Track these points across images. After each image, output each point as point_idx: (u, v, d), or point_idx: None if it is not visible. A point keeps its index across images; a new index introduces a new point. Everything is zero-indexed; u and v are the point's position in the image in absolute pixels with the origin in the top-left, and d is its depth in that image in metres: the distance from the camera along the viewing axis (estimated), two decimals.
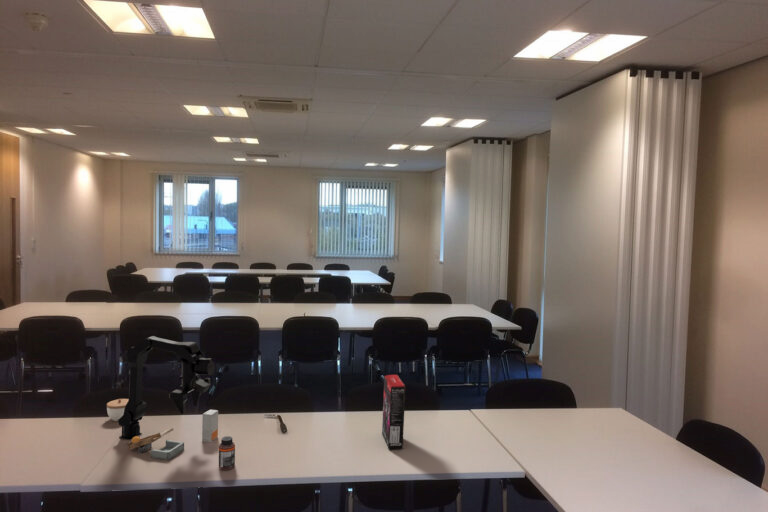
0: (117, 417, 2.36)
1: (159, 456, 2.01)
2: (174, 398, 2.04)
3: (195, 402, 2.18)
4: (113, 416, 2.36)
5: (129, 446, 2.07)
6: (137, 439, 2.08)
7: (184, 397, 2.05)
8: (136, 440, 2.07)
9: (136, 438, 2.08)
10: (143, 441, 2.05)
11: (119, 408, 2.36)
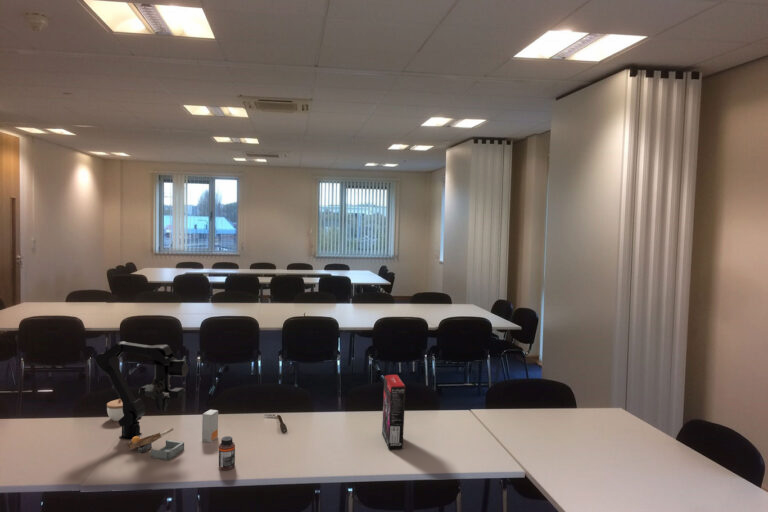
0: (117, 417, 2.36)
1: (159, 456, 2.01)
2: None
3: None
4: (113, 416, 2.36)
5: (129, 446, 2.07)
6: (137, 439, 2.08)
7: (141, 392, 2.17)
8: (136, 440, 2.07)
9: (136, 438, 2.08)
10: (143, 441, 2.05)
11: (119, 408, 2.36)
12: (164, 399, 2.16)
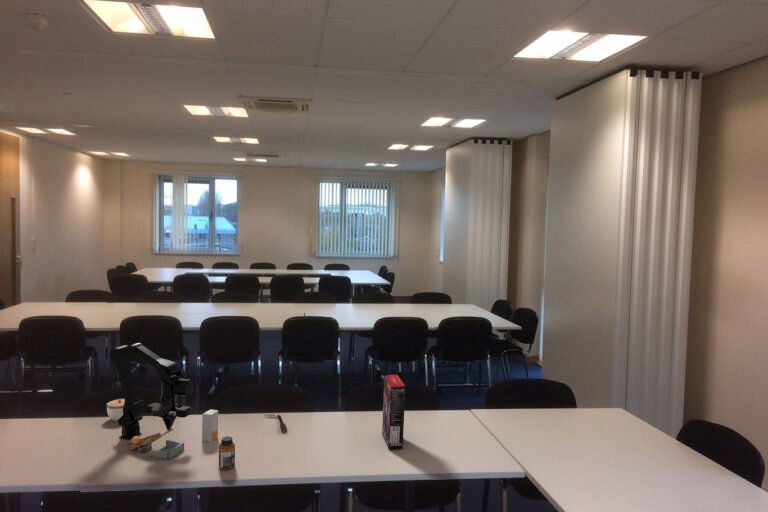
0: (117, 417, 2.36)
1: (159, 456, 2.01)
2: None
3: None
4: (113, 416, 2.36)
5: (129, 446, 2.07)
6: (137, 439, 2.08)
7: (148, 411, 2.14)
8: (136, 440, 2.07)
9: (136, 438, 2.08)
10: (143, 441, 2.05)
11: (119, 408, 2.36)
12: (169, 418, 2.12)
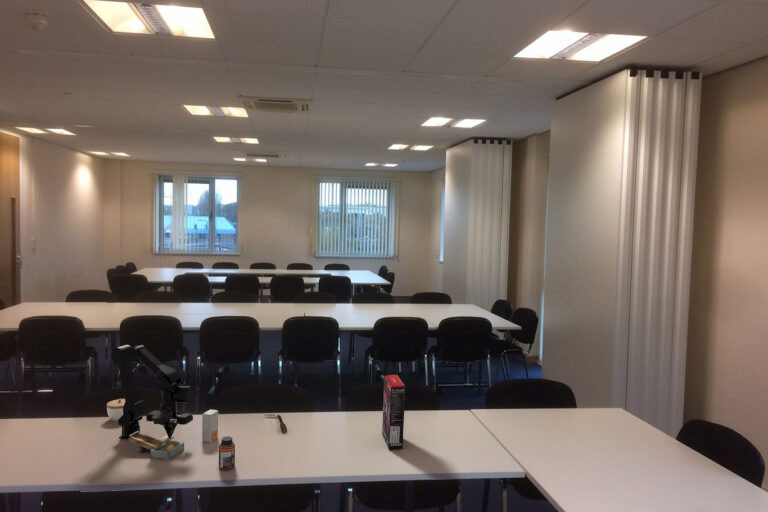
0: (117, 417, 2.36)
1: (159, 456, 2.01)
2: None
3: None
4: (113, 416, 2.36)
5: (130, 438, 2.06)
6: None
7: (148, 419, 2.14)
8: (167, 447, 2.04)
9: (167, 448, 2.05)
10: (145, 444, 2.05)
11: (119, 408, 2.36)
12: (170, 425, 2.13)
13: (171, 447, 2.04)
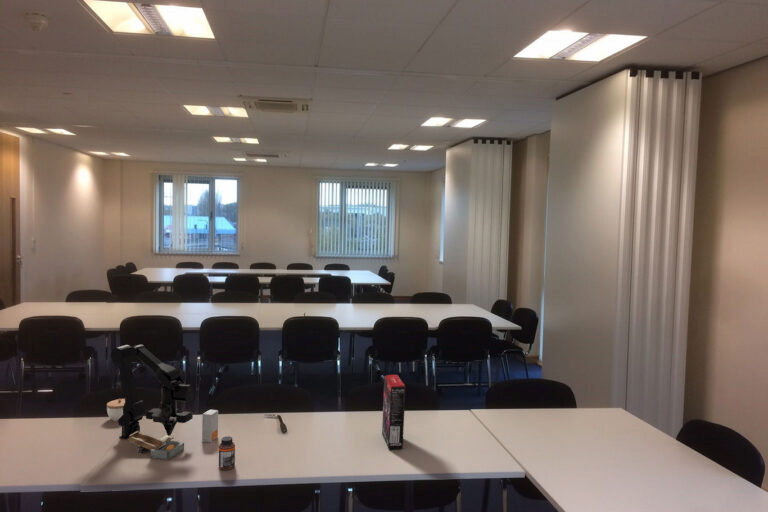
0: (117, 417, 2.36)
1: (159, 456, 2.01)
2: None
3: None
4: (113, 416, 2.36)
5: (130, 438, 2.06)
6: (167, 447, 2.05)
7: (148, 417, 2.14)
8: (167, 447, 2.04)
9: (166, 448, 2.05)
10: (145, 444, 2.05)
11: (119, 408, 2.36)
12: (169, 423, 2.13)
13: (170, 447, 2.04)
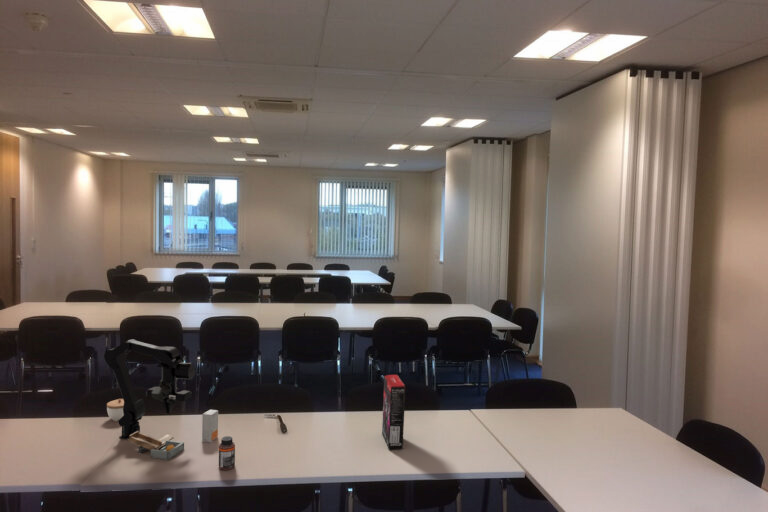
0: (117, 417, 2.36)
1: (159, 456, 2.01)
2: None
3: None
4: (113, 416, 2.36)
5: (130, 438, 2.06)
6: None
7: (148, 395, 2.16)
8: None
9: (166, 448, 2.05)
10: (145, 444, 2.05)
11: (119, 408, 2.36)
12: (169, 401, 2.15)
13: (170, 447, 2.04)
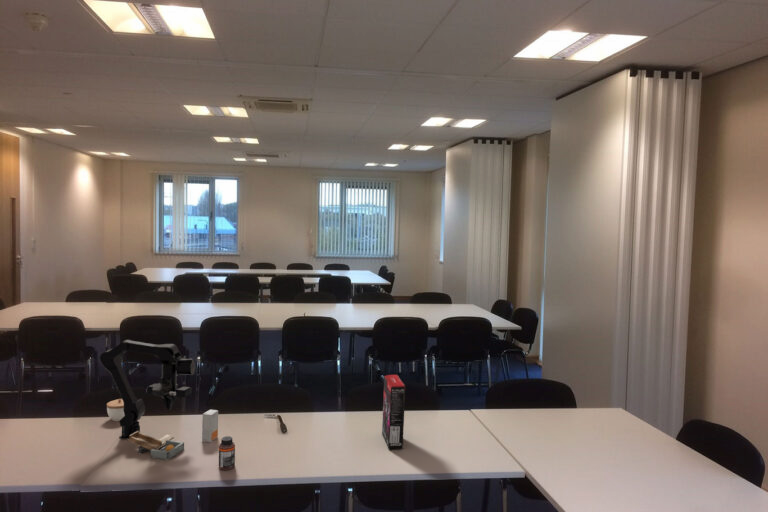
0: (117, 417, 2.36)
1: (159, 456, 2.01)
2: None
3: None
4: (113, 416, 2.36)
5: (130, 438, 2.06)
6: (166, 447, 2.05)
7: (148, 392, 2.19)
8: (166, 447, 2.04)
9: None
10: (145, 444, 2.05)
11: (119, 408, 2.36)
12: (169, 398, 2.18)
13: (169, 446, 2.04)
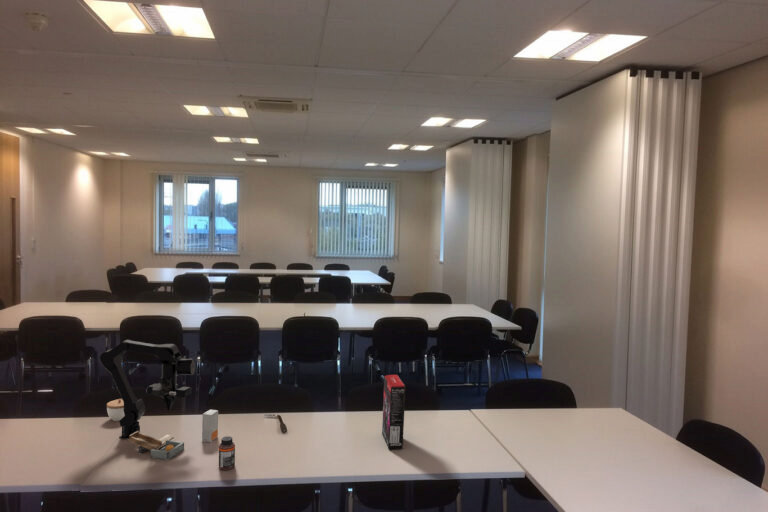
0: (117, 417, 2.36)
1: (159, 456, 2.01)
2: None
3: None
4: (113, 416, 2.36)
5: (130, 438, 2.06)
6: (166, 447, 2.05)
7: (148, 392, 2.19)
8: (166, 448, 2.04)
9: (165, 449, 2.05)
10: (145, 444, 2.05)
11: (119, 408, 2.36)
12: (169, 398, 2.18)
13: (169, 446, 2.04)
